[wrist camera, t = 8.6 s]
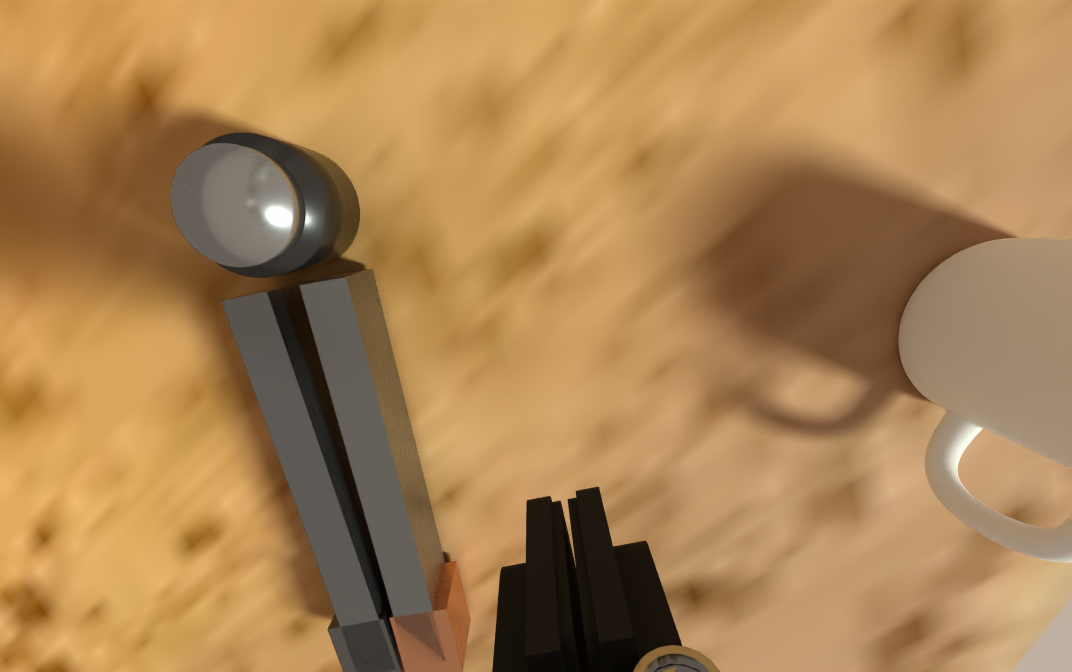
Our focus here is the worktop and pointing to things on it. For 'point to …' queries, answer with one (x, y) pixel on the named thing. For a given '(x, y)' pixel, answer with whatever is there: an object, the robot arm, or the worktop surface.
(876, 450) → the worktop surface
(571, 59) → the worktop surface
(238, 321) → the base
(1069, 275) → the cup
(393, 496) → the tong arm
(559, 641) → the robot arm
